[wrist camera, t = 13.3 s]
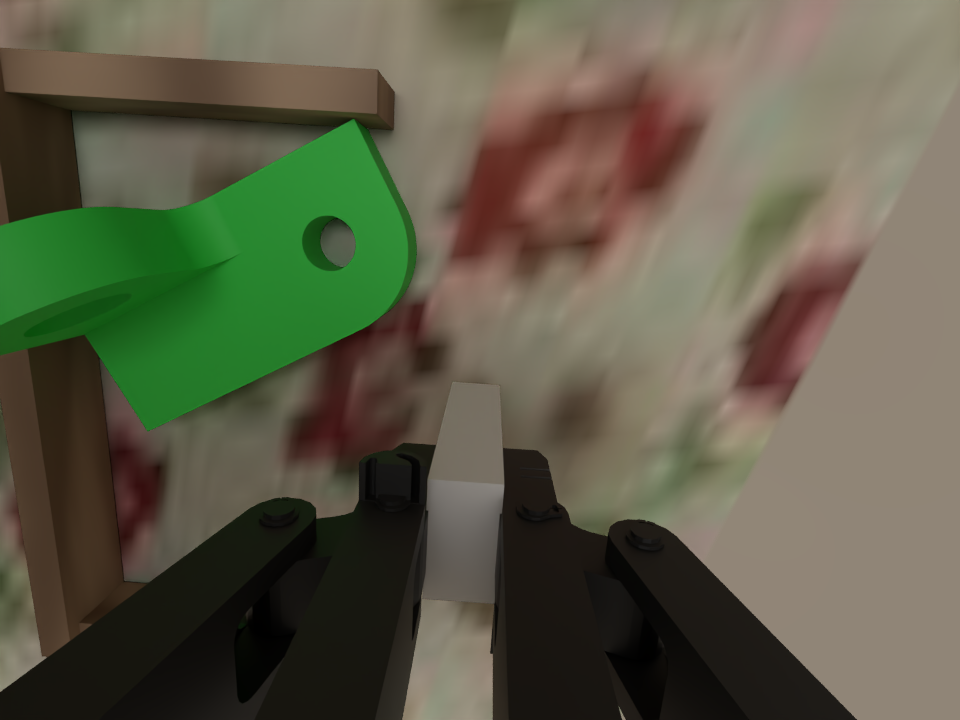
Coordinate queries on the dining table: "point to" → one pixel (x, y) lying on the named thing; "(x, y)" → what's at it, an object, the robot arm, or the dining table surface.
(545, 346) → the dining table surface
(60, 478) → the bay
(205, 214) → the mechanical part
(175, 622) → the robot arm
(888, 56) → the dining table surface
